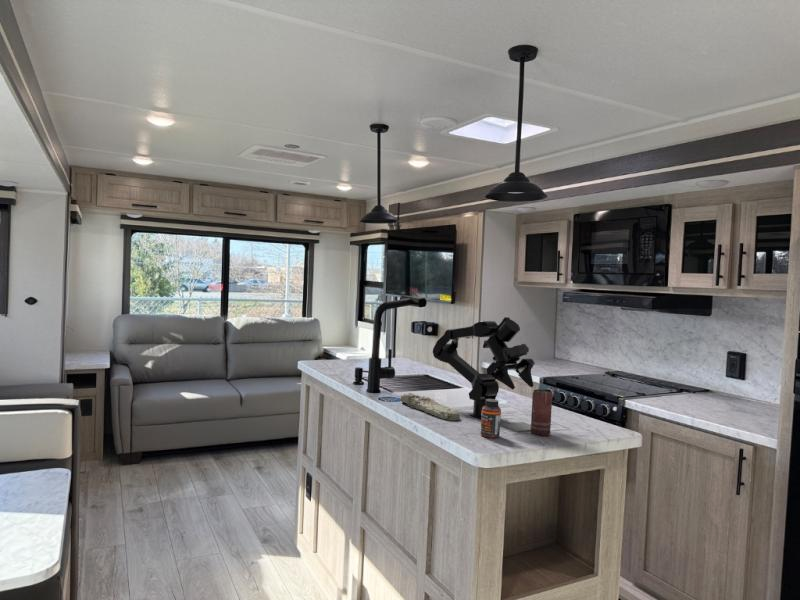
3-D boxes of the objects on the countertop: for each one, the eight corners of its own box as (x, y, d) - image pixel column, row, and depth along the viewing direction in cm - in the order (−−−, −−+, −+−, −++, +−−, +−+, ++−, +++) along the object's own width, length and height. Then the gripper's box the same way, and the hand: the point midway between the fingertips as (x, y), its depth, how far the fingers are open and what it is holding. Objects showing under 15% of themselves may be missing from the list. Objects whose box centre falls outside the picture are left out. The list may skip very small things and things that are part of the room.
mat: (499, 424, 193) (499, 423, 193) (522, 422, 198) (523, 421, 198) (517, 432, 184) (517, 431, 184) (542, 430, 189) (542, 428, 189)
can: (537, 437, 180) (539, 392, 179) (527, 431, 186) (529, 388, 185) (554, 436, 181) (556, 392, 181) (543, 431, 187) (546, 388, 187)
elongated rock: (442, 426, 194) (466, 425, 199) (444, 411, 194) (468, 410, 199) (392, 400, 224) (414, 400, 229) (394, 387, 224) (415, 387, 229)
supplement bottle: (476, 436, 177) (478, 399, 177) (485, 432, 182) (487, 397, 182) (494, 439, 174) (496, 402, 174) (502, 436, 179) (504, 400, 179)
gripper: (494, 336, 188) (518, 374, 179) (531, 335, 199) (556, 371, 190) (476, 357, 194) (498, 395, 186) (513, 355, 205) (536, 391, 197)
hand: (523, 387), depth 190 cm, fingers open, 9 cm apart
